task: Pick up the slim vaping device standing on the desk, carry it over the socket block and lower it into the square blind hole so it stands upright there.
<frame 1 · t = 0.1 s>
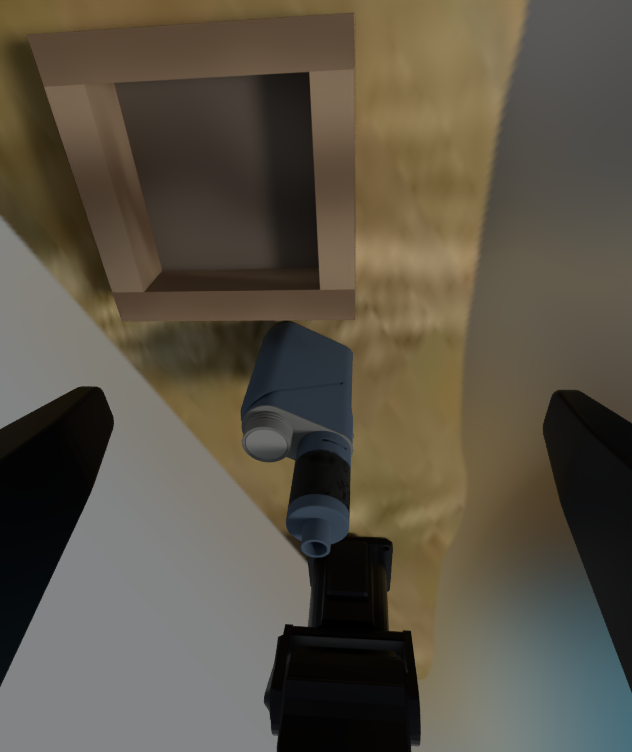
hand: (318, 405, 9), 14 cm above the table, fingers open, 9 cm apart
vaping device: (310, 347, 26), on the table
socket block: (231, 179, 21), on the table
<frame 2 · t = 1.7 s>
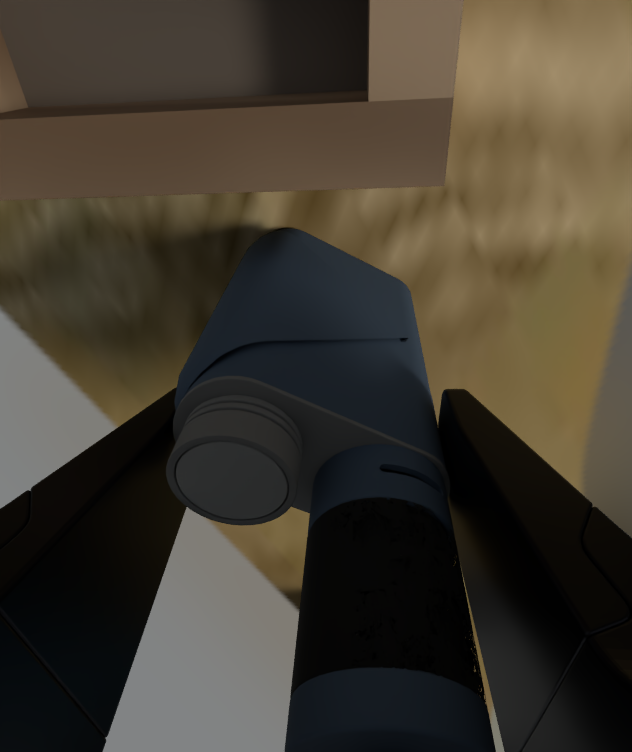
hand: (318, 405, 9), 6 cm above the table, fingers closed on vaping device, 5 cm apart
vaping device: (330, 284, 14), on the table, touching gripper
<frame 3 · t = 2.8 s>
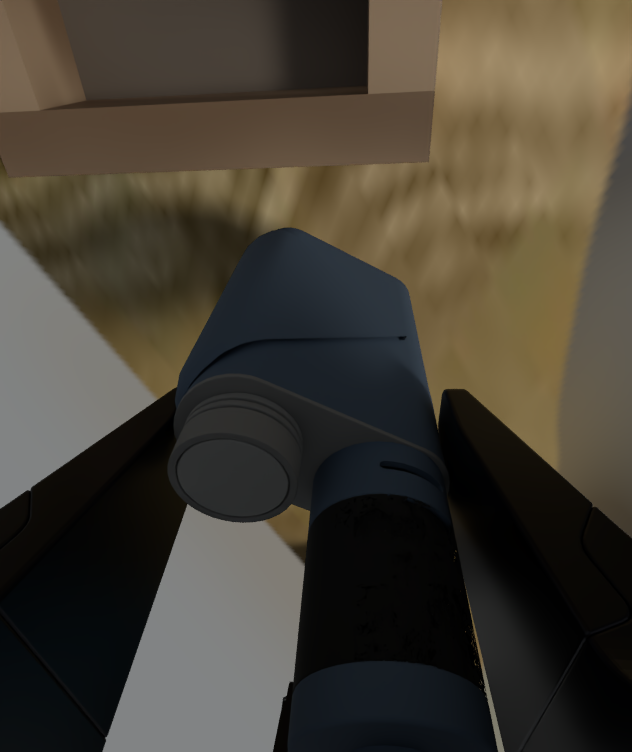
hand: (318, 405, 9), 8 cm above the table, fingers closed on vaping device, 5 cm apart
vaping device: (329, 283, 14), point 2 cm above the table, touching gripper
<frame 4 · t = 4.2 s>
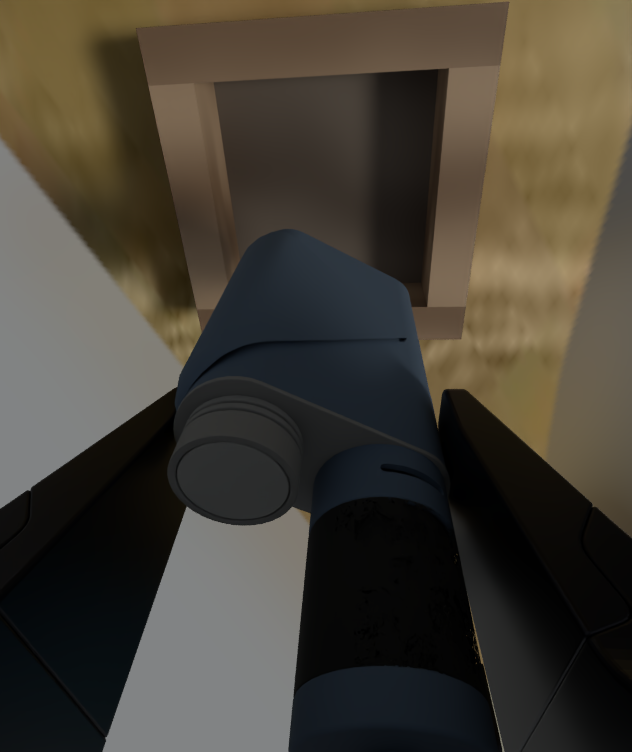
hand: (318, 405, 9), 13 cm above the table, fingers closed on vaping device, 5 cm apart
vaping device: (329, 284, 14), point 7 cm above the table, touching gripper
socket block: (328, 187, 19), on the table
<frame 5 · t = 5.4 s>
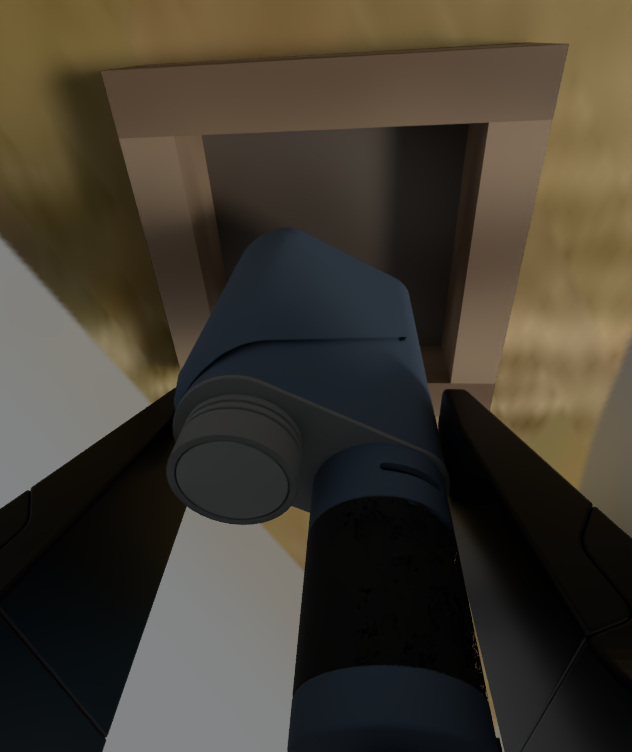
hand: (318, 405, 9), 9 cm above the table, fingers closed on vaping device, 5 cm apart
vaping device: (328, 283, 14), point 3 cm above the table, touching gripper
socket block: (335, 241, 17), on the table
when the fingers open (6 cm above the table, at t = 6.5 s): vaping device stays where it is, resting on socket block.
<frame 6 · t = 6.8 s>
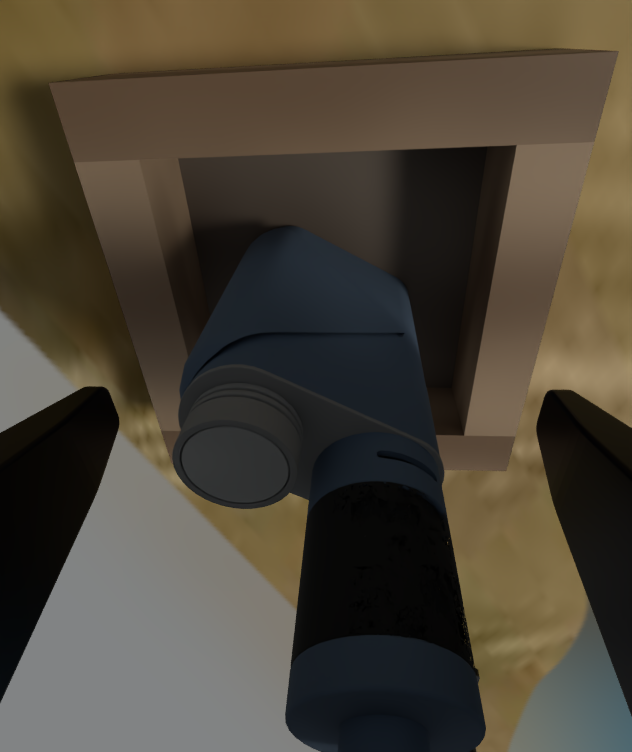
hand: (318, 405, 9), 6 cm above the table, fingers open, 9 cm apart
vaping device: (329, 281, 14), resting on socket block
socket block: (333, 273, 15), on the table
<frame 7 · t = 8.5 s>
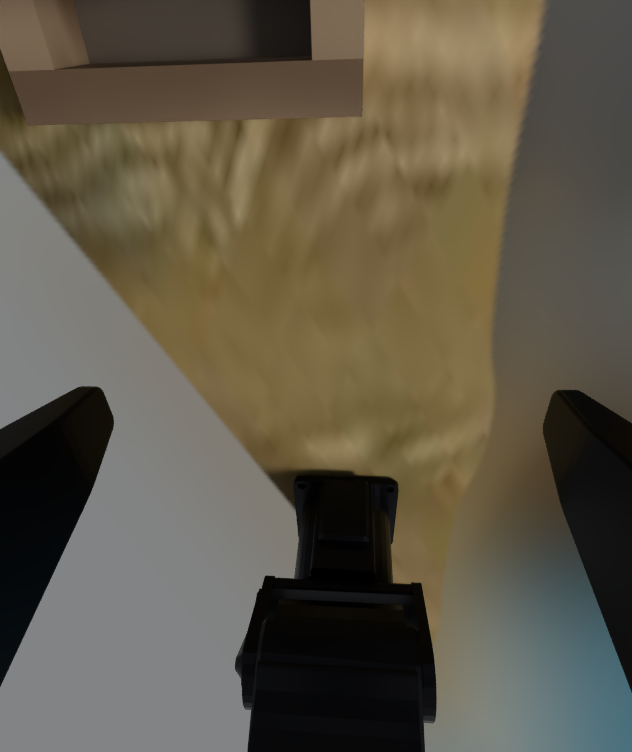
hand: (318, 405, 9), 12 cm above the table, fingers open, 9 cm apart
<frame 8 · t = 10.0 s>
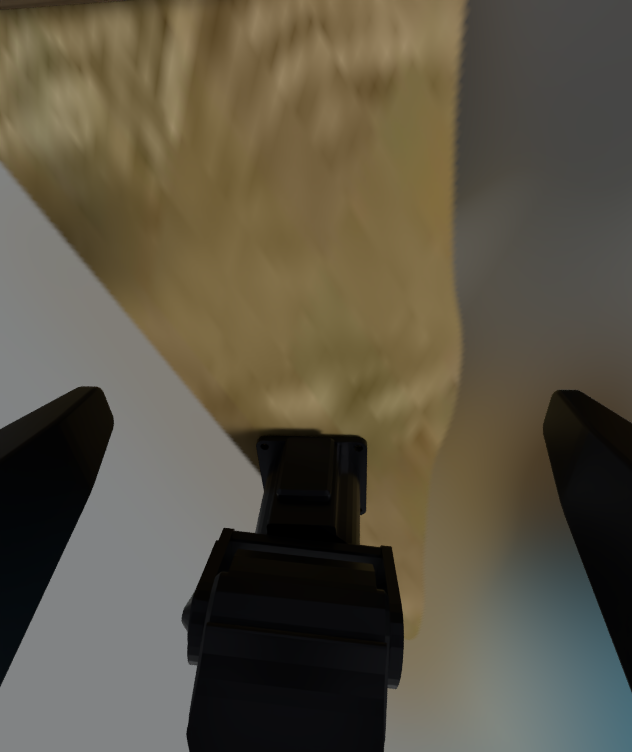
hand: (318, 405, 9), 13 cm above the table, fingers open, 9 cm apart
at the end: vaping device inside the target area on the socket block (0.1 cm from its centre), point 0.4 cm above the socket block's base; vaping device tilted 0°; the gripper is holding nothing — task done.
